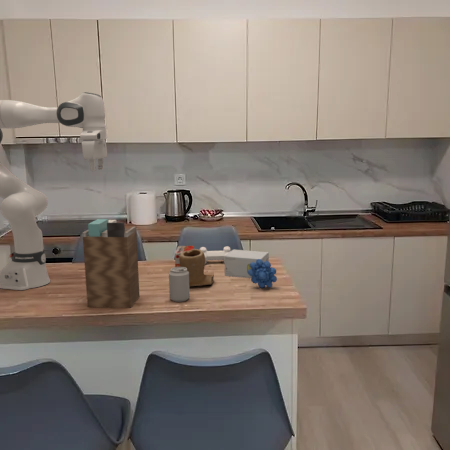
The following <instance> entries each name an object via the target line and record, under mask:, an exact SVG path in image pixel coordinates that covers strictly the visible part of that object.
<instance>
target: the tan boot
mask: <svg viewBox="0 0 450 450" xmlns="http://www.w3.org/2000/svg"><path fill="white" fill-rule="evenodd" d="M179 261H180V267H185V268H187V271H188V272H189V287H200V286H208V285H212V284H213V282H214V277H215V276H214V275H215V274H205V272H204V271H205V265H206V264H205V255H204V253H203V251H202V250H200V248H199V249H198V248H194V249H192V250H189V251H184V252H182V253H181V254H180V256H179Z"/></svg>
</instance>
